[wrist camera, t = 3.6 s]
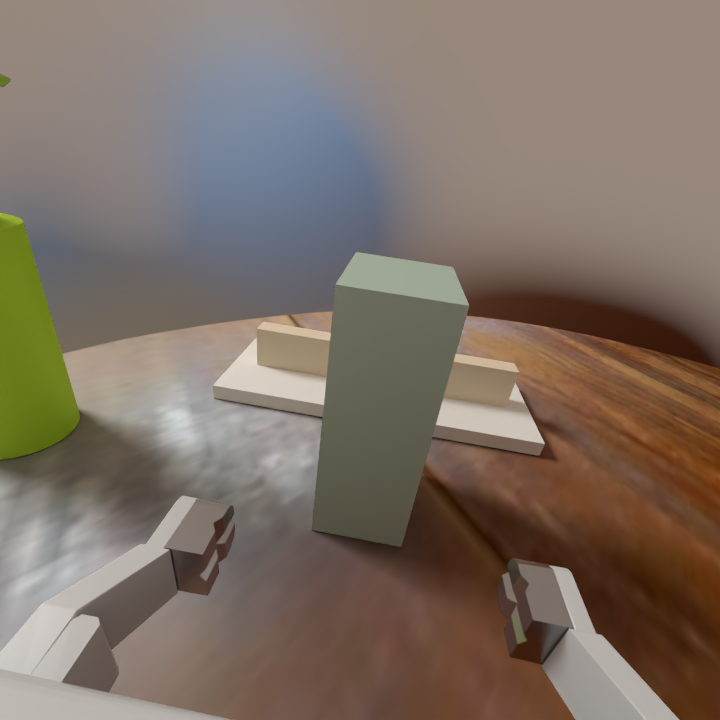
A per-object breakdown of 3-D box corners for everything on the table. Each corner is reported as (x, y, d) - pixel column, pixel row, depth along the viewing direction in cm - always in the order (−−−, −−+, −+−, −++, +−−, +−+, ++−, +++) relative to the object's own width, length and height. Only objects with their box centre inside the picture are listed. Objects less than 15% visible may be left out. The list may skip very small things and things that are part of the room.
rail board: (508, 387, 37) (524, 346, 35) (539, 455, 28) (562, 406, 26) (258, 345, 38) (258, 302, 36) (213, 397, 30) (210, 345, 27)
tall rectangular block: (403, 468, 25) (452, 267, 19) (401, 547, 20) (469, 305, 14) (332, 455, 26) (356, 252, 19) (311, 529, 20) (335, 284, 14)
